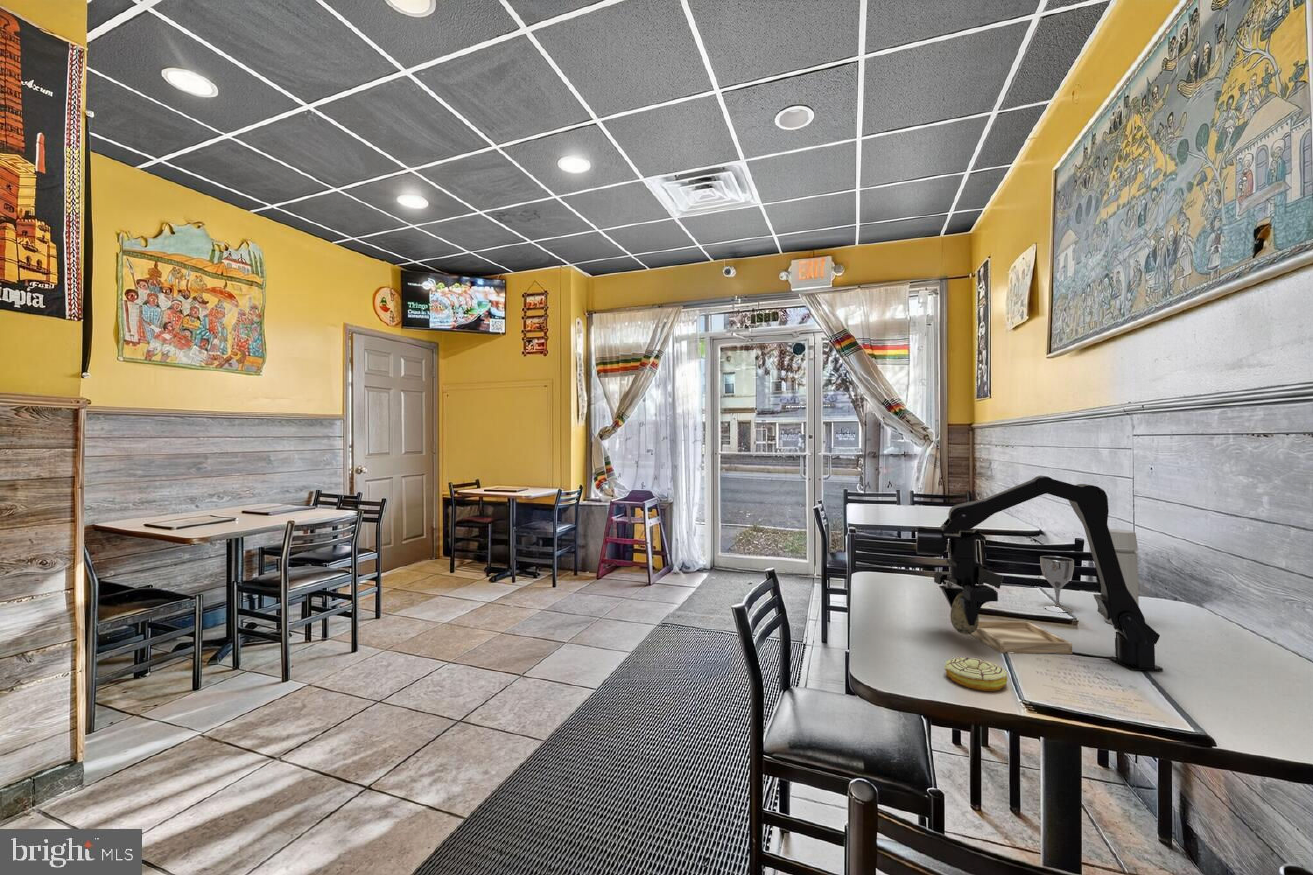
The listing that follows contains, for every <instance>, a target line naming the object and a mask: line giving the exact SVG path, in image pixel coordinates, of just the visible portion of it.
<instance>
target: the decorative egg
mask: <svg viewBox="0 0 1313 875" xmlns="http://www.w3.org/2000/svg"><path fill="white" fill-rule="evenodd" d="M959 596H963V593H962V592H961V593H959V594H958V595H957V596H956V598H955V599H954V602H953V604H952V608H951V607H950V615H949V616H950V622H951V624H952V626H953V628H954V629H955V631H957V632H958V633H960V634H962V635H972V634H971V633H973V632H974V631H975V630H976V629H977V627H978V623H979V621H980V619H979V615H978V616H977V619H976V622H975V625H974V626H970V625H969V624H968V621H967V619H966V616H965V613H964V610H963V607H962V604H961V601H960V598H959Z"/></svg>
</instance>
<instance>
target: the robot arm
mask: <svg viewBox="0 0 1313 875" xmlns="http://www.w3.org/2000/svg"><path fill="white" fill-rule="evenodd" d="M1046 494H1048V495H1050V496H1054V497H1058V498H1061V499H1065V500H1066V501H1067V500H1068V502H1069V504H1070V506H1071V508H1072V509H1073V512H1074V514H1076V516H1077V518H1078V519H1079V521H1080V522H1081V524H1082V526H1083V528H1084V531H1085V536H1086V539H1087V541H1088V545H1089V549H1090V552H1091V556H1092V559H1093V562H1094V566H1095V569H1096V573H1097V576H1098V579H1099V583H1100V594H1095V593H1094V594H1093V597H1094V598H1093V599H1094V600H1095V601H1096V603H1097V612H1098V613H1099V614H1100V615H1101V616H1103V619H1104V618H1105V619H1106V620H1108V621H1109V622H1110V623H1111V624H1110V623H1109V624H1110V625H1112V627H1113V629H1114V631H1115V638H1114V641H1115V643H1114V648H1115V650H1114V651H1115V654H1114V655H1115V656H1108V659H1109V660H1111V661H1112V662H1115V663H1116V664H1118V665H1120V666H1123V667H1125V668H1126V669H1129V668H1130V669H1129V670H1131V669H1133V670H1132V671H1146V672H1147V671H1151V672H1153V671H1155V672H1157V671H1158V672H1160V671H1161V672H1162V671H1164V668H1162V667H1160V666H1158V665H1157V664H1156V656H1155V655H1156V652H1155V651H1156V648H1155V645H1157V644H1158V641H1159V639H1160V633H1158V632H1157V631H1156V630H1155V629H1153V628H1152V627H1151V626H1149V624H1147V623H1146V619H1145V616H1144V614H1143V612H1142V610H1141V609H1140V606H1138V604H1137V603H1136V601H1135V600H1134V598H1133V597H1132V595H1131V594H1130V592H1129V591H1128V589H1127V587H1126V584H1125V581H1124V578H1123V574H1122V571H1121V568H1120V565H1119V561H1118V558H1117V555H1116V551H1115V548H1114V545H1113V542H1112V538H1111V535H1110V532H1109V529H1110V528H1109V526H1108V522H1109V521H1108V520H1109V499H1108V495H1107V493H1106V491H1105V490H1104V489H1103V488H1101V487H1099V486H1097V485H1092V484H1086V483H1077V484H1072V483H1068V482H1065V481H1062V480H1058V479H1054V478H1052V477H1050V476H1046V475H1038V476H1035V477H1033V478H1032V479H1029V480H1027V481H1024V482H1022V483H1020V484H1018V485H1015V486H1013V487H1010V488H1008V489H1006V490H1003V491H1001V492H1000V491H999V492H998V493H996V494H992V495H991V496H987V497H986V498H983V499H978V500H972V501H967V502H962V503H959V504H958V503H957V504H955V505H953V506H951V507H950V508H949V511H948V515H947V516H948V517H947V519H946V520H945V521H944V522H943V523H942V524H941V526H940V527H926V526H922V525H921V526H919V525H918V526H917V527H916V528H917V532H916V534H917V535H916V554H917V555H934V556H935V555H936V556H942V555H943V554H944V553H945V552H948V544H947V543H948V540H947V539H949V558H946V560H945V561H946V564H949V571H941V570H939V571H936V572H935V573H934V574H933V582H934V583H935V584H937V585H939V588H940V589H941V591H942V594H943V595H944V596H945V598H946V601H947V603H948V605H949V607H950V609H951V608H952V604H953V602H954V599H955V598H956V596H957V595H958V594H959V593H961V592H962V593H963V596H959V598H960V601H961V604H962V607H963V610H964V613H965V616H966V619H967V621H968V624H969V625H970V626H974V625H975V622H976V619H977V616H978V617H979V613H980V611H981V608H982V607H983V605H985V604H987V603H990V602H999V592H998V591H997V590H996V589H1001V586H1002V582H1003V580H1004V576H1003V575H1001V574H997V573H994V572H992V571H990V569H989V566H987V565H984V564H982V563H981V562H979V561H978V560H977V559H978V558H977V556H978V555H977V554H978V553H977V552H978V551H977V540H979V541H981V540H982V541H985V540H986V539H987V537H986V536H985V535H984V534H982V533H981V532H980V529H978V528H975V527H976V526H978V525H980V524H981V523H983V522H985V521H986V520H987V519H989V518H990V517H991V516H993V515H995V514H997V513H999V512H1002V511H1004V510H1007V509H1010V508H1011V507H1015V506H1017V505H1020V504H1022V503H1025V502H1028V501H1030V500H1032V499H1035V498H1037V497H1041V496H1042V495H1046ZM973 528H975V529H974V530H973V531H969V530H971V529H973ZM957 532H958V534H956V533H957ZM988 585H989V586H988ZM991 586H992V587H991ZM993 587H994V588H995V589H994V588H993ZM1105 619H1104V620H1105ZM1106 620H1105V621H1106Z"/></svg>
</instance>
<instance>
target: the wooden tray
mask: <svg viewBox="0 0 1313 875" xmlns="http://www.w3.org/2000/svg"><path fill="white" fill-rule="evenodd" d="M970 635H972V636H973V637H975V638H976V639H978V640H980V641H981V642H983V643H984V644H985V645H987V646H989V647H991V648H992V649H994V650H995V651H997V652H998V653H1000V654H1006V653H1005V652H1014V653H1013V654H1032V653H1061V654H1060V655H1073V643H1072V642H1069V641H1068V640H1065V639H1063V637H1062V638H1061V637H1059V636H1057V635H1055V634H1053V633H1051V632H1049V631H1047V630H1045V629H1043V628H1042V627H1039V626H1037V625H1036V624H1033V623H1031V622H1029V621H1016V620H1015V621H1012V620H1011V621H1010V620H1009V621H1008V620H1005V621H1003V620H979V623H978V627H977V629H976V630H975V631H974V632H973V633H971V634H970Z"/></svg>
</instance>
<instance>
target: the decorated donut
mask: <svg viewBox="0 0 1313 875" xmlns="http://www.w3.org/2000/svg"><path fill="white" fill-rule="evenodd" d="M944 671H945V672H946V676H947V677H948V678H949V679H951V680H952V681H953V682H954V683H957V684H958V685H960V686H963V687H966V688H969V689H974V690H976V691H982V692H995V691H999V690H1001V689H1002V688H1003V687H1005V686H1006V684H1007V682H1008V672H1007V671H1006V670H1005V669H1004V668H1003V667H1001V666H1000V665H998V664H996V663H993V662H990V661H987V660H984V659H979V658H973V657H955V658H952V659H948V660H947V661H946V662H945V664H944Z"/></svg>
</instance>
